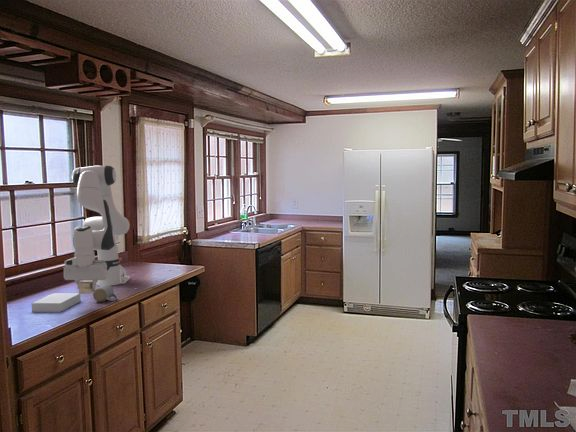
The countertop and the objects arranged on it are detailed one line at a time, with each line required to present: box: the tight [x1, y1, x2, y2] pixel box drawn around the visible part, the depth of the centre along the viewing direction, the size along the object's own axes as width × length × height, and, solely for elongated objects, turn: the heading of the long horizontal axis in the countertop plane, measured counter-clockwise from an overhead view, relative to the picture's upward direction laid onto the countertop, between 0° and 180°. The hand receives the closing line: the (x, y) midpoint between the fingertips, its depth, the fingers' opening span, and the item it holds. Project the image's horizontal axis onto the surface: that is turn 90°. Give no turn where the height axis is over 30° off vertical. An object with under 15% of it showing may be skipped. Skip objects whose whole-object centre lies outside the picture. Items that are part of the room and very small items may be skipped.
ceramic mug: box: [92, 284, 118, 303], centre depth 238 cm, size 11×8×8 cm
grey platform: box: [31, 292, 82, 313], centre depth 229 cm, size 18×14×4 cm
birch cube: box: [78, 280, 96, 295], centre depth 226 cm, size 5×5×5 cm
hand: (86, 288), depth 226 cm, fingers closed on birch cube, 5 cm apart
